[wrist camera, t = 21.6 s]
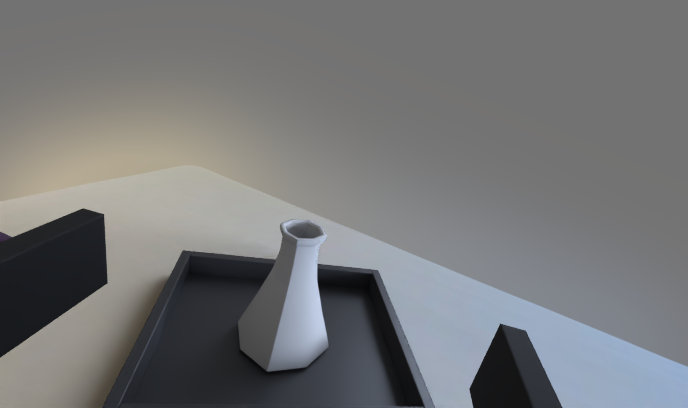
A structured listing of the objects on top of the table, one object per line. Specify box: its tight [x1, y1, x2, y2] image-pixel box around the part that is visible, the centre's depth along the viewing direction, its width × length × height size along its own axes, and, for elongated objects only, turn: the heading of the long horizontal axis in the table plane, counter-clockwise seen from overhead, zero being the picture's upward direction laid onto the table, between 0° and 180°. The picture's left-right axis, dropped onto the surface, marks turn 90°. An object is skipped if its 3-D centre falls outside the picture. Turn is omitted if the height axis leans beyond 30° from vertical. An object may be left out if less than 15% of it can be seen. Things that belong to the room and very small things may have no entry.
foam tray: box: [102, 251, 435, 408], centre depth 28 cm, size 20×17×3 cm
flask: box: [238, 219, 329, 372], centre depth 27 cm, size 7×7×10 cm
